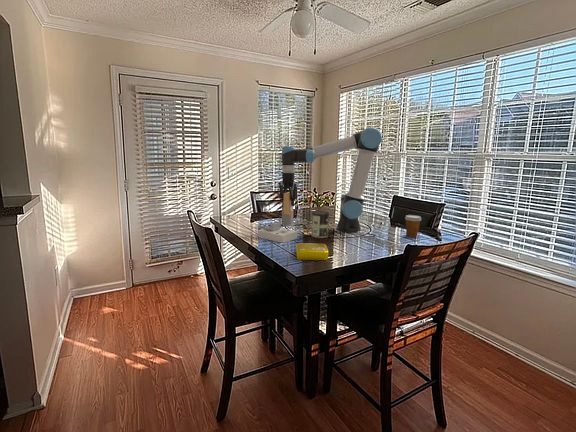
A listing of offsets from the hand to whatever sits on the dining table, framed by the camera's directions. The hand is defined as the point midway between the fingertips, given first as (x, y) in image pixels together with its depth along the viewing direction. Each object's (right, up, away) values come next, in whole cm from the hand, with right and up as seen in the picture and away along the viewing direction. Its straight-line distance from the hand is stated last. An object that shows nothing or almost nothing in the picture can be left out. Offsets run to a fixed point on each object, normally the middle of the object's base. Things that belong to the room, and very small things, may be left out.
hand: (288, 210), depth 210 cm
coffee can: (+19, -16, -4) cm, 25 cm away
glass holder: (+2, -10, +24) cm, 26 cm away
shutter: (-10, -11, -9) cm, 17 cm away
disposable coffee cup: (+76, -16, 0) cm, 78 cm away
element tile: (+11, -23, -42) cm, 49 cm away
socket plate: (-6, -16, -11) cm, 20 cm away
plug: (0, -2, 0) cm, 2 cm away
